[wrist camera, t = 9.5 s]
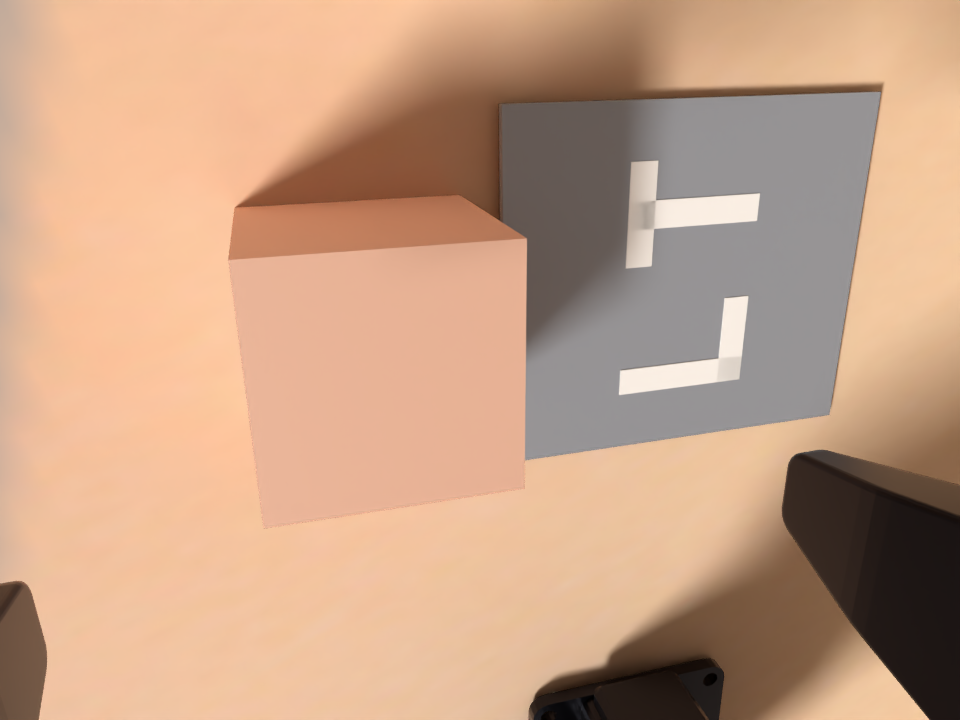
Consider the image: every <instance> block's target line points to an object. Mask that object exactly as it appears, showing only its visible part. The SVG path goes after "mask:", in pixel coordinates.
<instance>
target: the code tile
mask: <svg viewBox="0 0 960 720" xmlns="http://www.w3.org/2000/svg"><path fill="white" fill-rule="evenodd" d="M880 95H881V92H845V93H814V94H784V95H753V96H723V97H692V98H661V99H631V100H600V101H570V102H539V103H509V104H499V183H500V221H501V222H502V223H504V224H505V225H507V226H508V227H510V228H512V229H513V230H515V231H516V232H518V233H519V234H521V235H522V236H524V237H525V238H527V291H526V394H525V460H530V459H536V458H543V457H550V456H557V455H563V454H570V453H577V452H583V451H590V450H597V449H604V448H610V447H617V446H624V445H630V444H637V443H644V442H651V441H657V440H664V439H671V438H677V437H684V436H691V435H698V434H704V433H711V432H718V431H724V430H731V429H738V428H745V427H751V426H758V425H765V424H771V423H778V422H785V421H792V420H798V419H805V418H812V417H818V416H825V415H829V413H830V407H831V401H832V395H833V389H834V382H835V376H836V370H837V364H838V357H839V351H840V345H841V339H842V332H843V326H844V320H845V314H846V307H847V301H848V295H849V289H850V282H851V276H852V270H853V264H854V258H855V251H856V245H857V239H858V233H859V226H860V220H861V214H862V208H863V201H864V195H865V189H866V183H867V176H868V170H869V164H870V158H871V151H872V145H873V139H874V133H875V127H876V120H877V114H878V108H879V102H880Z"/></svg>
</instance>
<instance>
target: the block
mask: <svg viewBox="0 0 960 720" xmlns="http://www.w3.org/2000/svg"><path fill="white" fill-rule="evenodd" d="M228 262H229V269H230V277H231V285H232V292H233V300H234V307H235V315H236V322H237V330H238V338H239V345H240V353H241V360H242V368H243V376H244V383H245V391H246V398H247V406H248V414H249V421H250V429H251V436H252V444H253V452H254V459H255V467H256V474H257V482H258V489H259V497H260V505H261V512H262V520H263V527H264V528H271V527H277V526H284V525H290V524H297V523H303V522H310V521H316V520H323V519H329V518H336V517H342V516H349V515H355V514H362V513H369V512H375V511H382V510H388V509H395V508H401V507H408V506H414V505H421V504H427V503H434V502H440V501H447V500H453V499H460V498H466V497H473V496H479V495H486V494H493V493H499V492H506V491H512V490H519V489H525V394H526V291H527V238H525V237H524V236H522V235H521V234H519V233H518V232H516V231H515V230H513V229H512V228H510V227H508V226H507V225H505V224H504V223H502V222H501V221H499V220H498V219H496V218H495V217H493V216H491V215H490V214H488V213H487V212H485V211H484V210H482V209H481V208H479V207H478V206H476V205H475V204H473V203H471V202H470V201H468V200H467V199H465V198H464V197H462V196H461V195H446V196H429V197H411V198H394V199H376V200H359V201H341V202H323V203H306V204H288V205H271V206H253V207H236V208H235V209H234V217H233V225H232V234H231V242H230V250H229V258H228Z"/></svg>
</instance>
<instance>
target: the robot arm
mask: <svg viewBox="0 0 960 720" xmlns="http://www.w3.org/2000/svg"><path fill="white" fill-rule="evenodd" d="M782 517H783V521H784V523H785V526H786V528H787V530H788V531H789V533H790V534H791V536H792V537H793V539H794V540H795V542H796V543H797V545H798V546H799V548H800V549H801V551H802V552H803V554H804V555H805V557H806V558H807V560H808V561H809V562H810V564H811V565H812V567H813V568H814V570H815V571H816V573H817V574H818V576H819V577H820V579H821V580H822V582H823V583H824V585H825V586H826V588H827V589H828V591H829V592H830V594H831V595H832V597H833V598H834V600H835V601H836V603H837V604H838V606H839V607H840V608H841V610H842V611H843V613H844V614H845V615H846V617H847V618H848V620H849V621H850V623H851V624H852V625H853V626H854V628H855V629H856V630H857V631H858V633H859V634H860V635H861V637H862V638H863V639H864V640H865V642H866V643H867V644H868V645H869V646H870V648H871V649H872V650H873V651H874V653H875V654H876V655H877V656H878V657H879V659H880V660H881V661H882V662H883V664H884V665H885V666H886V667H887V668H888V670H889V671H890V672H891V673H892V674H893V676H894V677H895V678H896V679H897V681H898V682H899V683H900V684H901V685H902V687H903V688H904V689H905V690H906V692H907V693H908V694H909V695H910V696H911V698H912V699H913V700H914V701H915V703H916V704H917V705H918V706H919V707H920V709H921V710H922V711H923V712H924V714H925V715H926V716H927V717H928V718H929V720H960V485H958V484H954V483H950V482H946V481H942V480H938V479H935V478H931V477H927V476H923V475H919V474H915V473H912V472H908V471H904V470H900V469H896V468H892V467H889V466H885V465H881V464H877V463H873V462H869V461H866V460H862V459H858V458H854V457H850V456H846V455H843V454H839V453H835V452H831V451H827V450H815V451H809V452H803V453H798V454H796V455H794V456H793V457H792V458H791V460H790V462H789V464H788V469H787V476H786V483H785V490H784V496H783V503H782ZM46 669H47V650H46V644H45V640H44V636H43V633H42V629H41V625H40V622H39V618H38V614H37V611H36V607H35V604H34V600H33V596H32V593H31V590H30V589H29V587H28V586H27V584H25V583H24V582H22V581H14V582H7V583H1V584H0V720H39V714H40V708H41V701H42V695H43V688H44V682H45V676H46ZM723 681H724V672H723V670H722V669H721V668H720V667H719V665H718V664H717V663H716V661H715V660H713V659H711V658H706V659H701V660H697V661H692V662H688V663H683V664H679V665H674V666H670V667H666V668H661V669H657V670H652V671H648V672H644V673H639V674H635V675H630V676H626V677H622V678H617V679H613V680H608V681H604V682H599V683H595V684H591V685H586V686H582V687H577V688H573V689H569V690H564V691H560V692H555V693H551V694H547V695H543V696H540V697H538V698H537V699H536V700H534V701H533V702H532V704H531V705H530V708H529V720H719V713H720V705H721V697H722V689H723ZM547 711H549V712H547ZM545 712H547V713H545ZM544 713H545V714H544Z"/></svg>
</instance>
